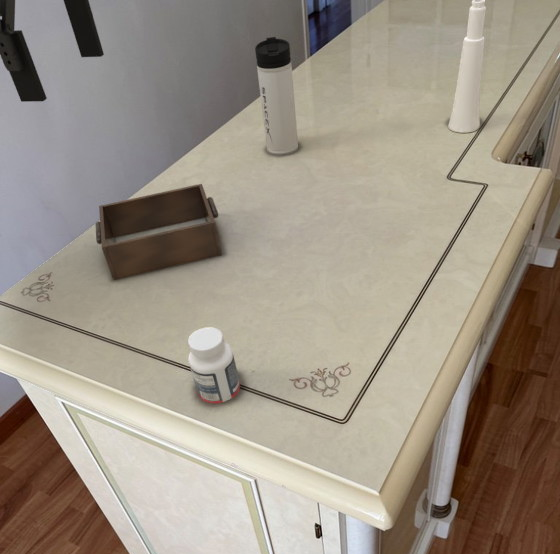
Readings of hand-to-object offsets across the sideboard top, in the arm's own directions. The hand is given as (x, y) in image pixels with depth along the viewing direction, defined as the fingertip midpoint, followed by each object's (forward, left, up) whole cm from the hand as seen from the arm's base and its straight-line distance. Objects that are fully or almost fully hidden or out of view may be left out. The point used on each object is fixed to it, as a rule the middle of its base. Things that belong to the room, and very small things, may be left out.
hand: (65, 77), depth 67 cm
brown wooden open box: (+5, +11, -31) cm, 33 cm away
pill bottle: (+8, -24, -31) cm, 40 cm away
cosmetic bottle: (+68, +31, -31) cm, 81 cm away
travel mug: (+32, +37, -31) cm, 58 cm away
